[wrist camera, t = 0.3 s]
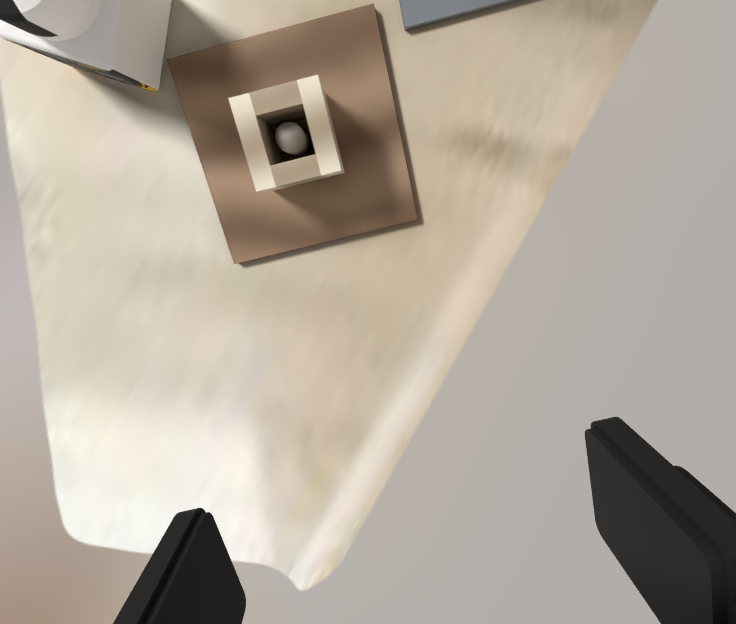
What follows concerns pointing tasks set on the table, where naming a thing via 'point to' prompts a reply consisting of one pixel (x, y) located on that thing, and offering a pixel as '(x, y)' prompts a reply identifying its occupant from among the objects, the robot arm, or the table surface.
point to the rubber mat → (440, 10)
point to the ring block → (272, 110)
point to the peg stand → (300, 134)
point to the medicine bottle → (94, 35)
